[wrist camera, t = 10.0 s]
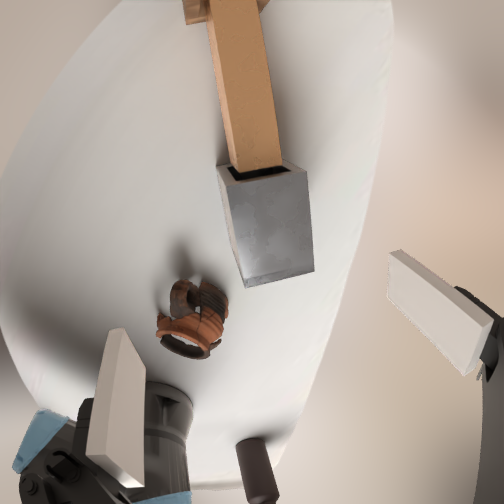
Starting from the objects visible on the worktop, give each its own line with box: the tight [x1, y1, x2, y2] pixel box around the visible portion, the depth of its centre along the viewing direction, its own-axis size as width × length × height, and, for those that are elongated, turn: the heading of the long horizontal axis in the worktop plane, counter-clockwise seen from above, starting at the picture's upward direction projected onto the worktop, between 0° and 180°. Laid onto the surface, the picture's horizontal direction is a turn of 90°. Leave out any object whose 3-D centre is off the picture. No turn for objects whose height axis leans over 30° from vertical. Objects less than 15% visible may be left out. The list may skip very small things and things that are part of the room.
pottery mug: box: [156, 279, 228, 359], centre depth 39 cm, size 12×10×8 cm
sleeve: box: [216, 159, 314, 288], centre depth 32 cm, size 7×10×10 cm
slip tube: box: [203, 0, 283, 173], centre depth 25 cm, size 4×20×6 cm, turn 8°
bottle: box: [236, 438, 280, 504], centre depth 52 cm, size 7×7×20 cm
